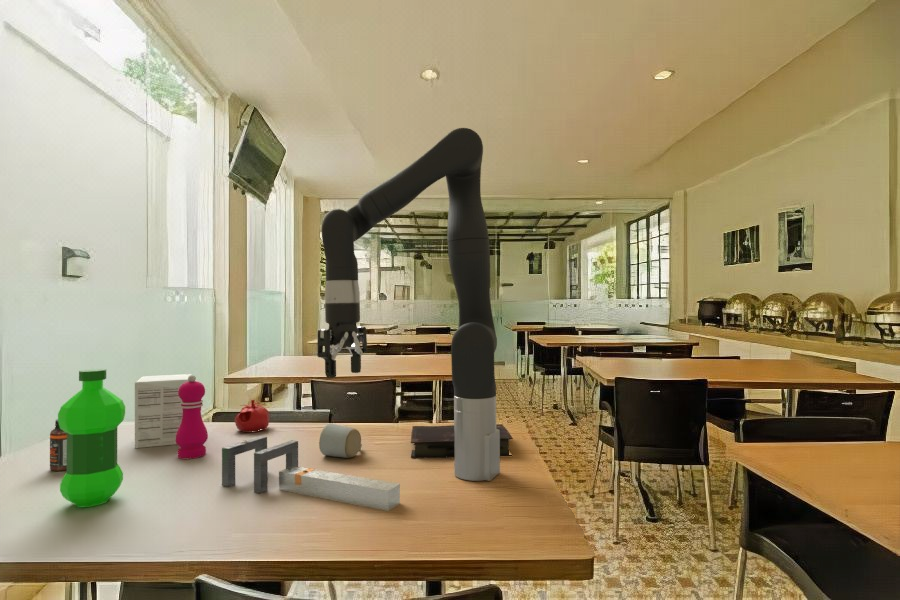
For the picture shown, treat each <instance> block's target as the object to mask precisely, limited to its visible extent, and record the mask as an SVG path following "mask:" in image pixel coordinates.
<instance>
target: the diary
mask: <svg viewBox="0 0 900 600" xmlns="http://www.w3.org/2000/svg"><path fill="white" fill-rule="evenodd" d="M496 429H499V431H500V456H512V455H513V454H512V455H509V450H510V449H509V446H510V445H509V440H514V438H513V436H512V435H511V434H510V431H509V430H508V429H507V428H506V427H505V426H504V425H503V424H501V423H500V424H497V423H496ZM410 444H412V446H414V449H412V450H411V454H410V458H412V459H451V458H452V459H454V424H453V425H436V426H435V425H412V428H411V435H410ZM512 457H513V456H512Z"/></svg>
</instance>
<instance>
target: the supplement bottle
mask: <svg viewBox="0 0 900 600" xmlns="http://www.w3.org/2000/svg"><path fill="white" fill-rule="evenodd" d="M54 423H55V424H54V426H55V427H54V428H52V429H51V431H50V433H49V469H50V470H51V471H53V472H64V471H67V433H66V432H64V431H63V430H62V429H60V427H59V423H58V418H57V419H55V422H54ZM63 470H64V471H63Z"/></svg>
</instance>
